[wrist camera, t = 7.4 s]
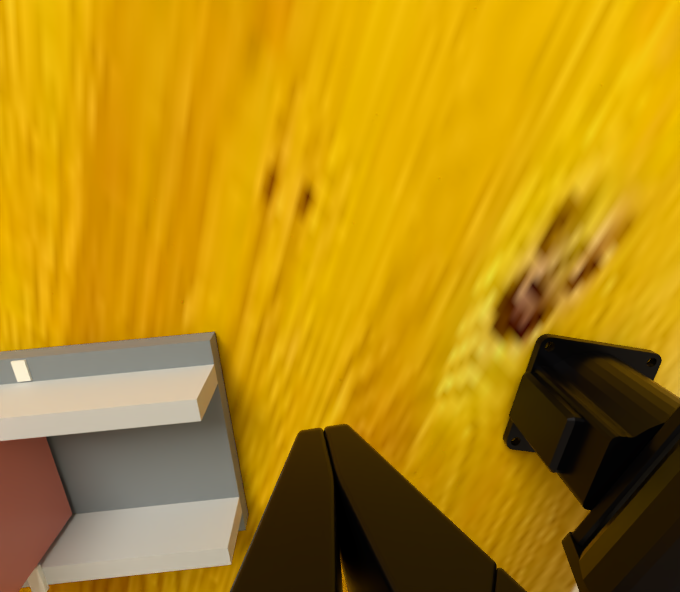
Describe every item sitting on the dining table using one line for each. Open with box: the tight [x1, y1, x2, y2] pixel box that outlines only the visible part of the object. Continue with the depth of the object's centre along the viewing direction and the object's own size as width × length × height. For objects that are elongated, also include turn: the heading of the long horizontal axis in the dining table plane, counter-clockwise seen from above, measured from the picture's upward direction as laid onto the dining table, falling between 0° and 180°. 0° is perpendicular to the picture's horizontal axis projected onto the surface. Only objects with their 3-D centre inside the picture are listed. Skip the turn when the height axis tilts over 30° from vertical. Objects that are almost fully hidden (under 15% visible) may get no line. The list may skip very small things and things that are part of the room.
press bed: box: [0, 332, 248, 592], centre depth 19 cm, size 16×11×4 cm
